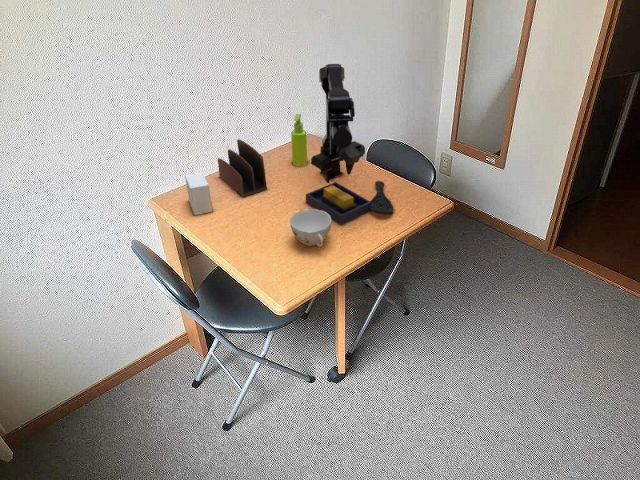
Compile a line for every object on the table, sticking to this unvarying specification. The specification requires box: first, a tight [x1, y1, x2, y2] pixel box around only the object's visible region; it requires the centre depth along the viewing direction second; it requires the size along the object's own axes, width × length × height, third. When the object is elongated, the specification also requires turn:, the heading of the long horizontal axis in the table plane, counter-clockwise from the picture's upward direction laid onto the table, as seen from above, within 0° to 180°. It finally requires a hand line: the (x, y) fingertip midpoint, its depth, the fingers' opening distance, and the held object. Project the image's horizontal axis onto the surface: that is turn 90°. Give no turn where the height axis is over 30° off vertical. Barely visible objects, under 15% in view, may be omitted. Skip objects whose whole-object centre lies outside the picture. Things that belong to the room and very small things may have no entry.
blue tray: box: [305, 181, 373, 226], centre depth 166 cm, size 19×14×4 cm
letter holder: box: [217, 138, 268, 198], centre depth 178 cm, size 10×20×14 cm, turn 34°
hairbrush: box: [369, 180, 394, 215], centre depth 169 cm, size 8×4×25 cm
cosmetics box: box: [184, 171, 213, 216], centre depth 165 cm, size 10×6×10 cm, turn 23°
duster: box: [322, 185, 356, 214], centre depth 165 cm, size 12×5×5 cm, turn 39°
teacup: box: [289, 208, 332, 247], centre depth 148 cm, size 15×12×8 cm
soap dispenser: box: [290, 113, 308, 167], centre depth 189 cm, size 6×7×20 cm
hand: (338, 178), depth 162 cm, fingers open, 9 cm apart
